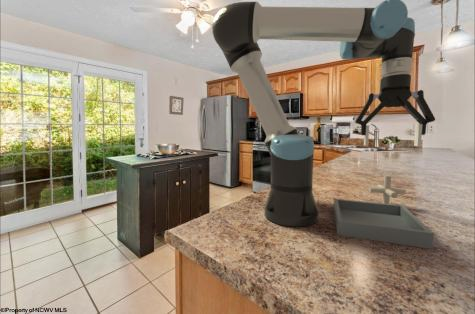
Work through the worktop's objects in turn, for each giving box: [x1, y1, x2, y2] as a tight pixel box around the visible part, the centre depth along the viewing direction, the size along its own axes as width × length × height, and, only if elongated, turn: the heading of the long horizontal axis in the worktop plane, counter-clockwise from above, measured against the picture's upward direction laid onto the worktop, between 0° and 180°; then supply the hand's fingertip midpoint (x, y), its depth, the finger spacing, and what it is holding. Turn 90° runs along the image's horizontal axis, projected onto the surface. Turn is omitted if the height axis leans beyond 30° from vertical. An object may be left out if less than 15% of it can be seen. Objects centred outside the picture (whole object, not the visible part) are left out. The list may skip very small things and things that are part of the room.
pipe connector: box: [368, 174, 407, 204], centre depth 70 cm, size 10×10×10 cm
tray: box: [333, 198, 434, 250], centre depth 56 cm, size 18×18×3 cm
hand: (390, 145), depth 68 cm, fingers open, 13 cm apart
